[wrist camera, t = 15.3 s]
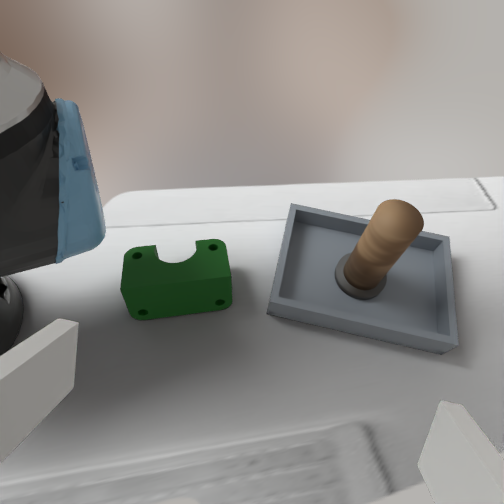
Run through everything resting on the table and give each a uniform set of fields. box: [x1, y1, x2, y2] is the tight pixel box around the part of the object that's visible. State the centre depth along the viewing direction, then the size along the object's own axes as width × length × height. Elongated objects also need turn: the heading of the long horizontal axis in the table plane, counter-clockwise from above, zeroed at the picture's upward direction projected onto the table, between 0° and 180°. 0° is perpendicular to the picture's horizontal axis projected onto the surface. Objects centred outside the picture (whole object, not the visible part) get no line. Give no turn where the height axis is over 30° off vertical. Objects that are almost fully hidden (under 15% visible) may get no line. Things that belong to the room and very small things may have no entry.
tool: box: [335, 199, 424, 300], centre depth 38 cm, size 6×6×12 cm
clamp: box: [120, 239, 232, 320], centre depth 40 cm, size 12×6×9 cm, turn 93°
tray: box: [267, 203, 459, 355], centre depth 43 cm, size 20×14×4 cm
